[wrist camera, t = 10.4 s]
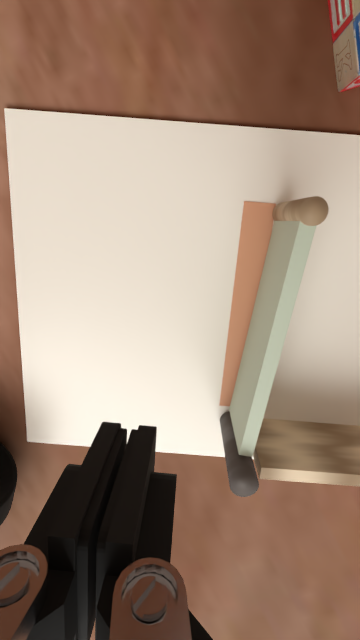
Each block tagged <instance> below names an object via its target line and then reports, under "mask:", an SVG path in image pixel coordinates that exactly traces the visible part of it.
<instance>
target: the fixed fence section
mask: <svg viewBox="0 0 360 640" xmlns="http://www.w3.org/2000/svg"><path fill="white" fill-rule="evenodd" d="M220 427H221V433H222V439H223V446H224V452H225V459H226V465H227V471H228V478H229V484H230V489H231V491H232V492H233V493H234V494H235V495H237V496H241V497H247V496H250V495H252V494H254V493H255V492H256V491H257V489H258V487H259V483H258V479H257V475H256V471H255V468H254V464H253V460H252V457H250V456H243V455H239V453H238V449H237V444H236V439H235V435H234V430H233V425H232V421H231V416H230V412H229V411H228V412H225V413H224V414H222V416H221V417H220ZM253 457H254V461H255V464H256V468H257V472H258V475H259V479H270V480H283V481H296V482H308V483H321V484H334V485H347V486H360V426H355V425H343V424H330V423H317V422H304V421H291V420H278V419H265V418H263V421H262V424H261V428H260V432H259V435H258V439H257V442H256V446H255V450H254V453H253Z"/></svg>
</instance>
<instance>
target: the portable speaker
mask: <svg viewBox="0 0 360 640" xmlns="http://www.w3.org/2000/svg"><path fill="white" fill-rule="evenodd" d="M16 482H17V468H16V464H15V461H14V459H13V457H12V455H11V454H10V452H9V451H8V450H7V449H6V447H5V446H4V445H3V444H2V443H0V525H1V524H2V523H3V521H4V520H5V518H6V517H7V515H8V513H9V510H10V508H11V505H12V501H13V497H14V492H15V487H16Z"/></svg>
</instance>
